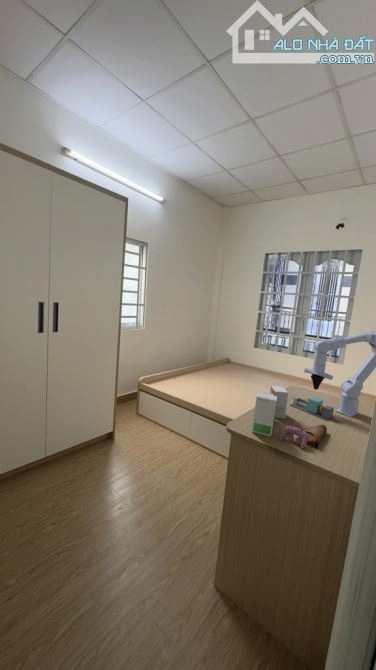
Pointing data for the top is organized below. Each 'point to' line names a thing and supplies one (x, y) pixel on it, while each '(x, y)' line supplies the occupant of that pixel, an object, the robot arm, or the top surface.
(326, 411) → the linear slider
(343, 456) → the top surface
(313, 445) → the sunglasses case
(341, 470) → the top surface
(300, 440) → the pink lumpy irregular piece
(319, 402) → the sleeve
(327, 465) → the top surface
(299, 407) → the grey base plate
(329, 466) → the top surface
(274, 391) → the small box
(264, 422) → the skincare box
